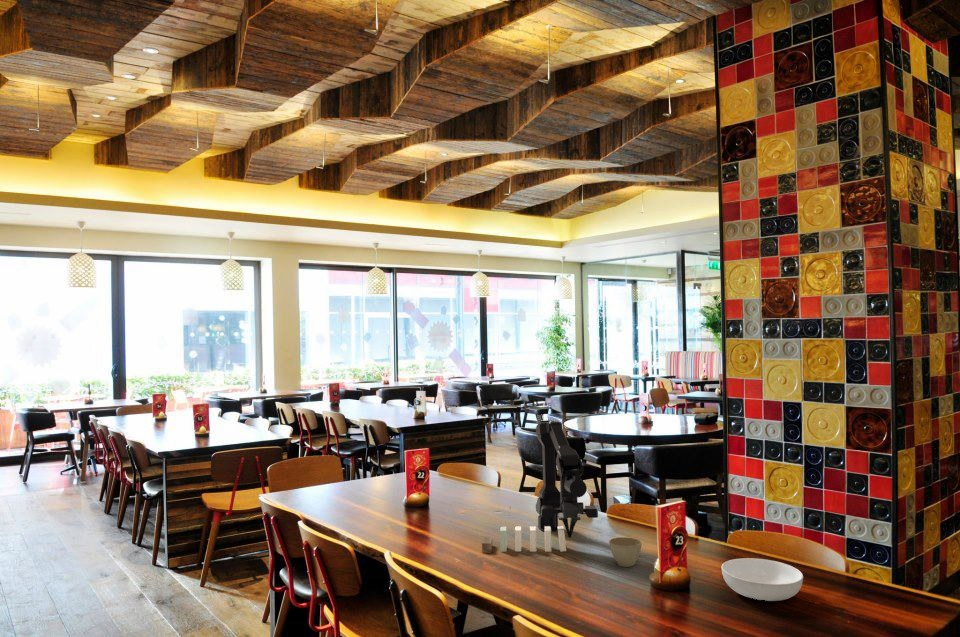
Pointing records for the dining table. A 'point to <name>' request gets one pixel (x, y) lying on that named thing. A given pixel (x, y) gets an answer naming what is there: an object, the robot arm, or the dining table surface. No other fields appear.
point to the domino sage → (503, 539)
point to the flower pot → (625, 550)
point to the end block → (487, 545)
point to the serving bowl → (762, 578)
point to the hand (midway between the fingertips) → (569, 537)
